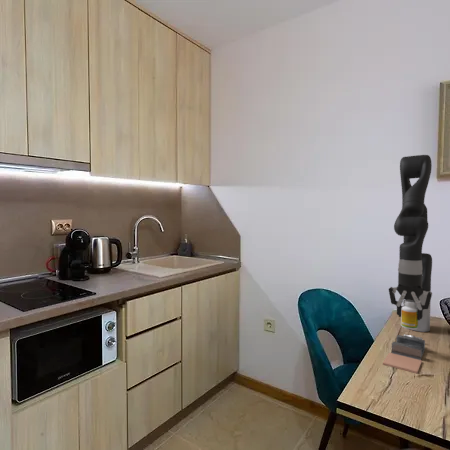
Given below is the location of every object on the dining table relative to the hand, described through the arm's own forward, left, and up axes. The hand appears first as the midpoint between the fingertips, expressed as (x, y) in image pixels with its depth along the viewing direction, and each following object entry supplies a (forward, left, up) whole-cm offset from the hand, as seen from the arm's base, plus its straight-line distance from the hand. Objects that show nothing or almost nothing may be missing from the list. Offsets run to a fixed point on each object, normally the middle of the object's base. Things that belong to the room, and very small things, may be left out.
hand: (409, 317), depth 118 cm
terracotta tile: (+12, 0, -12) cm, 17 cm away
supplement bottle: (0, 0, -4) cm, 4 cm away
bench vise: (-3, 0, -12) cm, 13 cm away
